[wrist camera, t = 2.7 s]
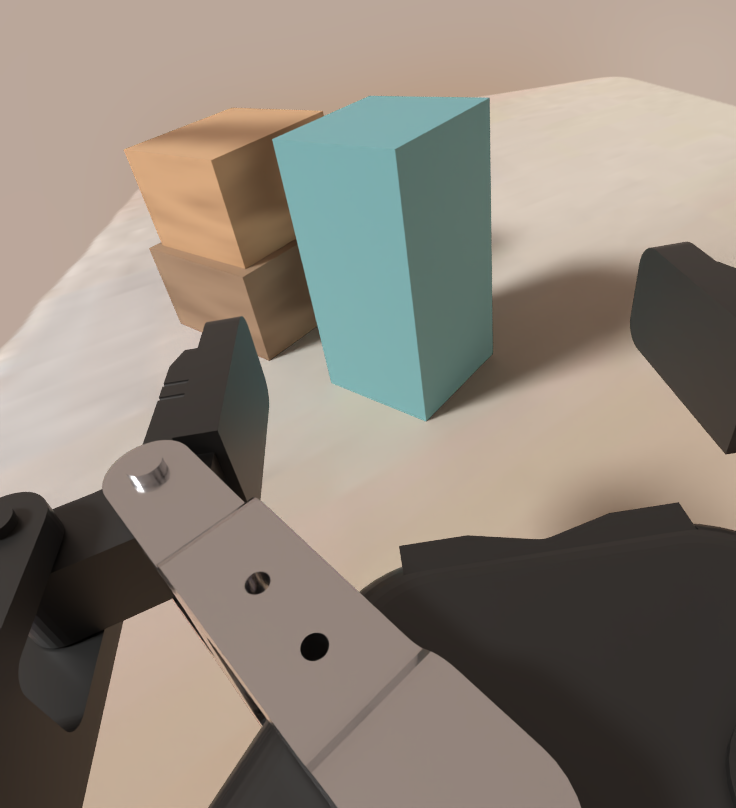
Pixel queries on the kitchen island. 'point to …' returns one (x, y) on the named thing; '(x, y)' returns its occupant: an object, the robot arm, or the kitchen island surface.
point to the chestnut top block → (220, 184)
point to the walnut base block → (241, 294)
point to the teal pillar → (396, 243)
